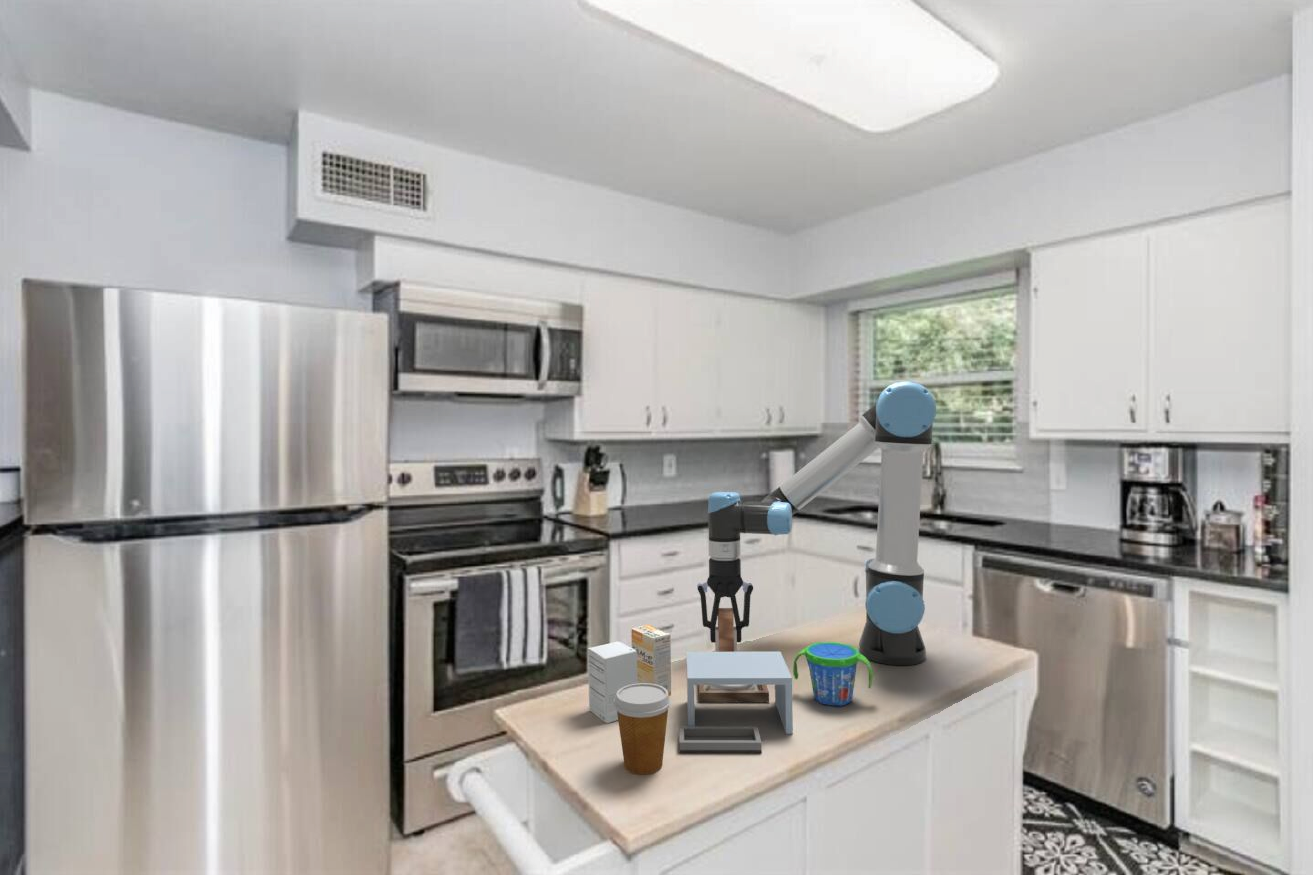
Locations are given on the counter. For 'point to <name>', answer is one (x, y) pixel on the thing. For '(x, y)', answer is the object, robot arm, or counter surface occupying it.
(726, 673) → the tunnel
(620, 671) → the supplement box
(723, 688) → the round grey tin
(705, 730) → the tray
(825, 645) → the snack cup
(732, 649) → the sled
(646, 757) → the disposable coffee cup
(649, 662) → the supplement box
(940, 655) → the counter surface
